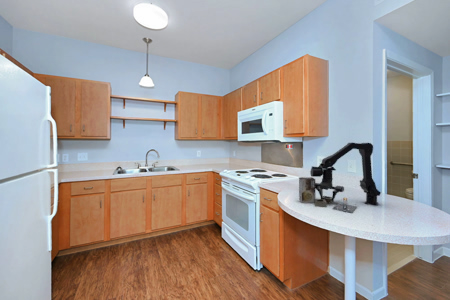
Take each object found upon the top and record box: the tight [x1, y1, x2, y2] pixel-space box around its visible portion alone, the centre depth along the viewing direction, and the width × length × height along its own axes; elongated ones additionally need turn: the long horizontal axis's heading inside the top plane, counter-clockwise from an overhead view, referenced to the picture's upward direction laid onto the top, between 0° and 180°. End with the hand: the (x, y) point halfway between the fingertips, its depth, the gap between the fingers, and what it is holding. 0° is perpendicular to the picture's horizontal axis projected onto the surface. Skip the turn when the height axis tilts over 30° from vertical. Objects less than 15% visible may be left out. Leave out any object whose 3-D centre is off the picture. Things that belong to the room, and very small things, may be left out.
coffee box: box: [298, 176, 316, 204], centre depth 130 cm, size 9×6×16 cm
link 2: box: [320, 195, 335, 205], centre depth 129 cm, size 6×6×3 cm
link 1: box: [313, 198, 328, 208], centre depth 122 cm, size 6×6×3 cm
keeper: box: [332, 197, 358, 214], centre depth 116 cm, size 14×10×6 cm
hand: (327, 199), depth 129 cm, fingers closed on link 2, 6 cm apart
